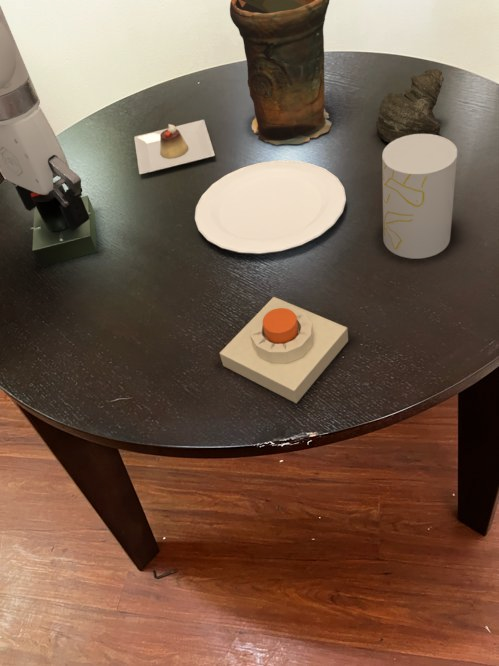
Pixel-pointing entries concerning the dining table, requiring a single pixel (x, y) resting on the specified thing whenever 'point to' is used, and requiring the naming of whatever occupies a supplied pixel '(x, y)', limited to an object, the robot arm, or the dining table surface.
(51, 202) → the dial
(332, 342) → the square push button base
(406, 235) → the white patterned cylinder
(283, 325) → the button
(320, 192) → the plate
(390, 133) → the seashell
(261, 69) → the vessel
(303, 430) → the dining table surface
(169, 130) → the dessert
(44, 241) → the dial panel
